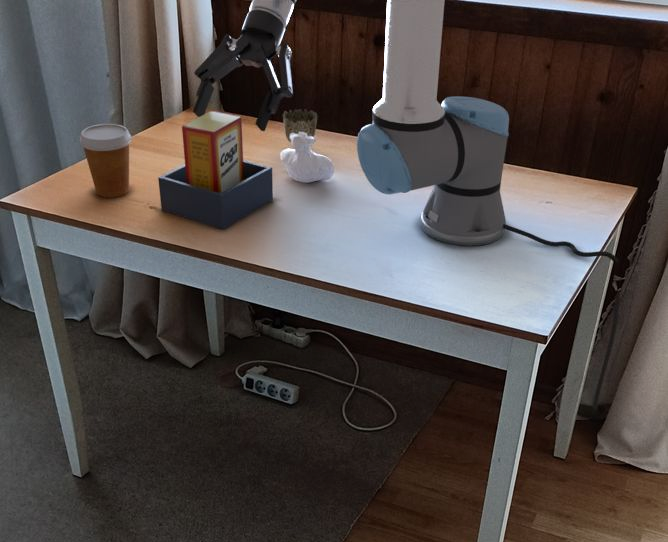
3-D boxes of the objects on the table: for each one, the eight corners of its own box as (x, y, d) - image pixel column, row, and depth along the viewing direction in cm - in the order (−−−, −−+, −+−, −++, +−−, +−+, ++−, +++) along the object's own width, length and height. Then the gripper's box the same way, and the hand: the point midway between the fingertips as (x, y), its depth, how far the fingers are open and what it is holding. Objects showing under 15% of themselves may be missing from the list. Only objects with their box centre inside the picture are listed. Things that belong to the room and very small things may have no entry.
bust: (279, 183, 177) (261, 153, 166) (293, 153, 178) (276, 121, 168) (331, 195, 172) (315, 165, 162) (345, 164, 174) (330, 132, 164)
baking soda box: (215, 189, 167) (210, 108, 158) (244, 195, 165) (241, 114, 156) (188, 207, 160) (181, 124, 151) (218, 214, 158) (213, 130, 149)
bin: (273, 199, 165) (272, 167, 161) (222, 229, 154) (220, 195, 150) (213, 182, 171) (211, 151, 167) (161, 210, 160) (158, 177, 156)
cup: (282, 144, 189) (281, 108, 185) (315, 143, 190) (315, 108, 186) (284, 156, 183) (283, 120, 179) (318, 155, 184) (318, 119, 179)
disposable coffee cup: (110, 205, 161) (101, 144, 155) (77, 192, 166) (67, 132, 159) (147, 189, 168) (141, 130, 161) (115, 177, 172) (107, 119, 166)
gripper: (332, 39, 159) (294, 142, 156) (219, 23, 168) (182, 119, 166) (319, 15, 152) (279, 122, 150) (202, -1, 161) (163, 100, 159)
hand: (228, 121), depth 158 cm, fingers open, 13 cm apart
